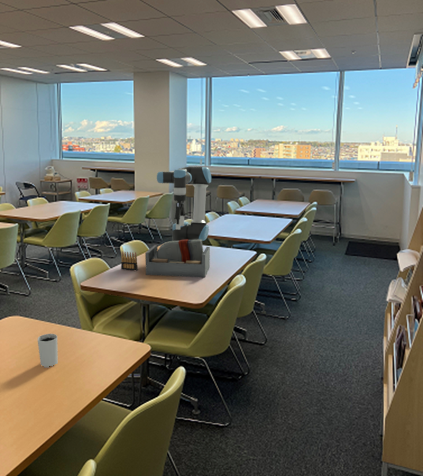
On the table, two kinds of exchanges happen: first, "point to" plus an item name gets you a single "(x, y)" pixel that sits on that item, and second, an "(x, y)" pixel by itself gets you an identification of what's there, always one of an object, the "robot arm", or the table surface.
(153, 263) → the rack
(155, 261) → the walnut offcut
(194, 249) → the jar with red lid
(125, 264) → the ammunition clip
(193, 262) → the teak offcut
